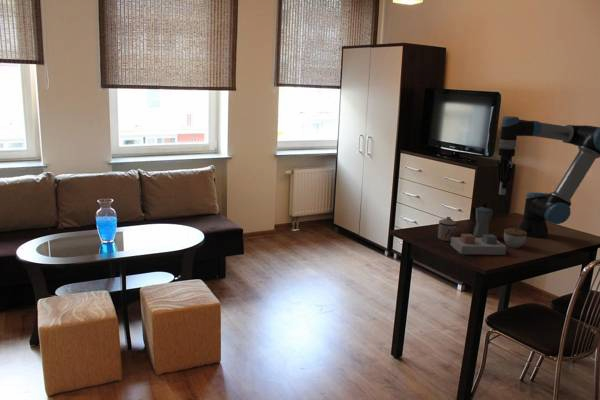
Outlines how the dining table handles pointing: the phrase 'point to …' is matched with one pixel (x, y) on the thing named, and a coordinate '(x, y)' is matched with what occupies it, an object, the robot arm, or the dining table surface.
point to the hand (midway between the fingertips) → (502, 194)
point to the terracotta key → (468, 238)
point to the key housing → (478, 247)
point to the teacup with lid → (447, 229)
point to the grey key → (489, 239)
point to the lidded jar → (514, 237)
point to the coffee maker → (482, 220)
